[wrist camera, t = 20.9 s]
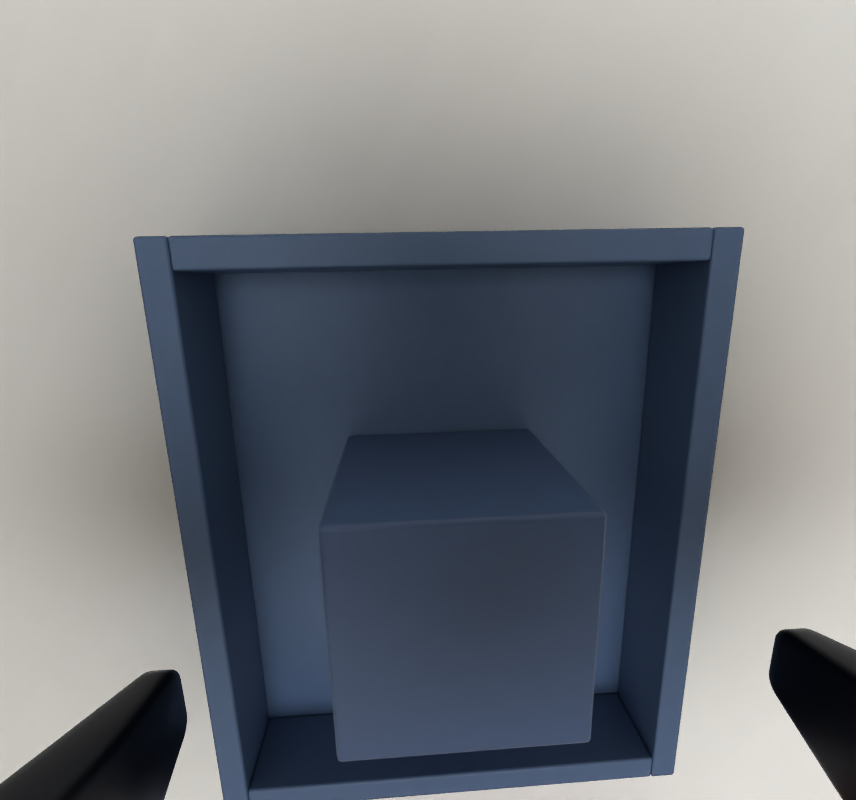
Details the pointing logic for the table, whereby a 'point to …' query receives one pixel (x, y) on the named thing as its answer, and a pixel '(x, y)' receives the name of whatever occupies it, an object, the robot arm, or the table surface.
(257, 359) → the slate tray
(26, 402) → the table surface
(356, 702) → the blue block
